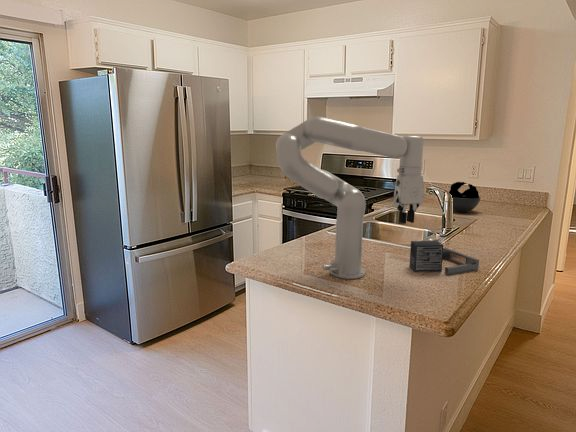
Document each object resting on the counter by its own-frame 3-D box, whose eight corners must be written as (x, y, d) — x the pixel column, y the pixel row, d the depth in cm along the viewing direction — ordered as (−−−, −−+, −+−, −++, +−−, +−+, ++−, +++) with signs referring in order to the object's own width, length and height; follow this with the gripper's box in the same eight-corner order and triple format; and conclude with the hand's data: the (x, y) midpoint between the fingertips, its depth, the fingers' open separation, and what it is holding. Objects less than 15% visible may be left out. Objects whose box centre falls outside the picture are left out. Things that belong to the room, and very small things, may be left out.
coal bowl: (444, 207, 281) (447, 179, 277) (477, 210, 274) (480, 181, 270) (444, 213, 262) (447, 183, 258) (480, 216, 256) (483, 185, 252)
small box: (435, 266, 164) (437, 240, 162) (442, 271, 158) (444, 244, 156) (408, 266, 164) (410, 240, 162) (414, 272, 158) (416, 245, 155)
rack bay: (447, 275, 155) (448, 264, 154) (416, 261, 170) (417, 251, 169) (478, 269, 161) (479, 259, 160) (445, 257, 176) (445, 247, 175)
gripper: (398, 173, 142) (394, 226, 146) (435, 171, 149) (431, 222, 153) (384, 171, 149) (381, 222, 153) (421, 169, 155) (417, 218, 159)
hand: (406, 222), depth 153 cm, fingers open, 2 cm apart
